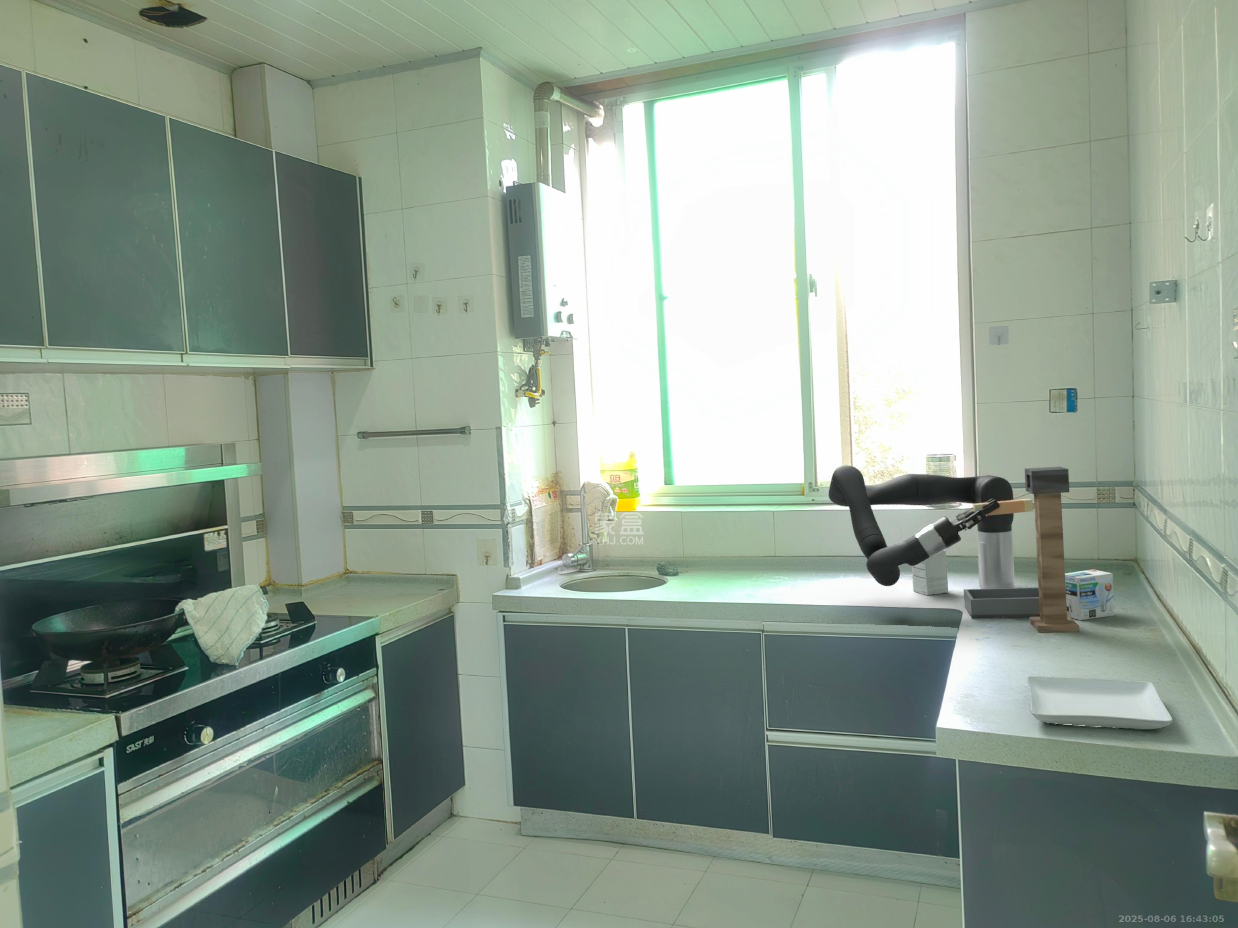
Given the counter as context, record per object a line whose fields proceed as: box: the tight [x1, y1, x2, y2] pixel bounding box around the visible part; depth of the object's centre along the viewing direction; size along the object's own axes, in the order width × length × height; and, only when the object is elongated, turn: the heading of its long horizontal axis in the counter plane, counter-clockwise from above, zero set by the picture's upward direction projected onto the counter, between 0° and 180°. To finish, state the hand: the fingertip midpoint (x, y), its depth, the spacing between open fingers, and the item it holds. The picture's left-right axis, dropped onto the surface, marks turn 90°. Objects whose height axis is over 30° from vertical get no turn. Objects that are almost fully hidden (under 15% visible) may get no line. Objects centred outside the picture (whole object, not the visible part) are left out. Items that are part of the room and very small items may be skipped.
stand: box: [1024, 466, 1080, 633], centre depth 216 cm, size 9×9×38 cm
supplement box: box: [911, 549, 949, 596], centre depth 265 cm, size 7×7×13 cm
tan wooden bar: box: [972, 498, 1034, 516], centre depth 233 cm, size 3×14×3 cm, turn 77°
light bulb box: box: [1065, 569, 1115, 621], centre depth 225 cm, size 11×7×11 cm, turn 105°
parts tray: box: [963, 586, 1040, 620], centre depth 235 cm, size 13×20×5 cm, turn 77°
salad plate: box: [1025, 675, 1173, 730], centre depth 160 cm, size 21×21×3 cm
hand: (996, 502), depth 234 cm, fingers closed on tan wooden bar, 3 cm apart
